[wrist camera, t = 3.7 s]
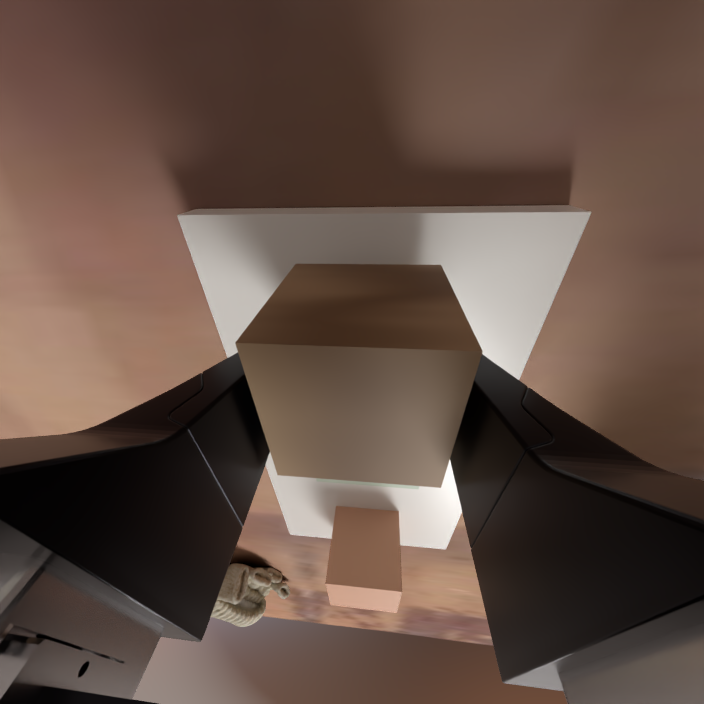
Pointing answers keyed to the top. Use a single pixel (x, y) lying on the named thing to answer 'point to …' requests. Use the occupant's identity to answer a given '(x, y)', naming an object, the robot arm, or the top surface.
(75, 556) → the robot arm
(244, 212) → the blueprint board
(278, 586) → the pair of gloves
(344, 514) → the terracotta block
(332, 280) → the walnut block
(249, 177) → the top surface
